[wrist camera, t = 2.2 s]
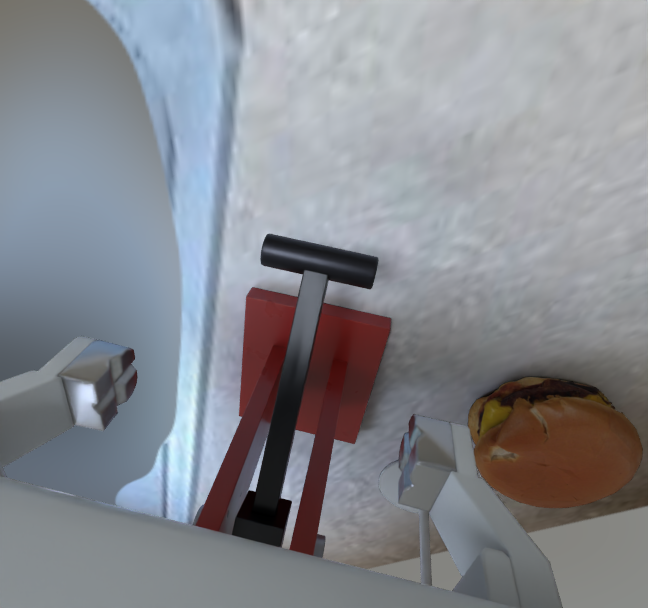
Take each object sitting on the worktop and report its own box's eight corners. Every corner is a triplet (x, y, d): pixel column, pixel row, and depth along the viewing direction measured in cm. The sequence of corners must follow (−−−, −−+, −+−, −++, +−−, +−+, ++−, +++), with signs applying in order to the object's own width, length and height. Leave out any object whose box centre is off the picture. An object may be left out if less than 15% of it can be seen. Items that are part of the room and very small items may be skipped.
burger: (596, 470, 30) (624, 534, 26) (461, 459, 32) (469, 517, 28) (638, 365, 25) (681, 425, 21) (475, 358, 27) (486, 413, 23)
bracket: (252, 286, 26) (133, 478, 15) (391, 317, 26) (379, 540, 14) (243, 404, 32) (155, 605, 21) (356, 431, 32) (328, 651, 21)
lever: (273, 236, 20) (262, 230, 17) (377, 258, 19) (380, 255, 17) (210, 536, 21) (191, 569, 18) (307, 561, 20) (302, 598, 18)
